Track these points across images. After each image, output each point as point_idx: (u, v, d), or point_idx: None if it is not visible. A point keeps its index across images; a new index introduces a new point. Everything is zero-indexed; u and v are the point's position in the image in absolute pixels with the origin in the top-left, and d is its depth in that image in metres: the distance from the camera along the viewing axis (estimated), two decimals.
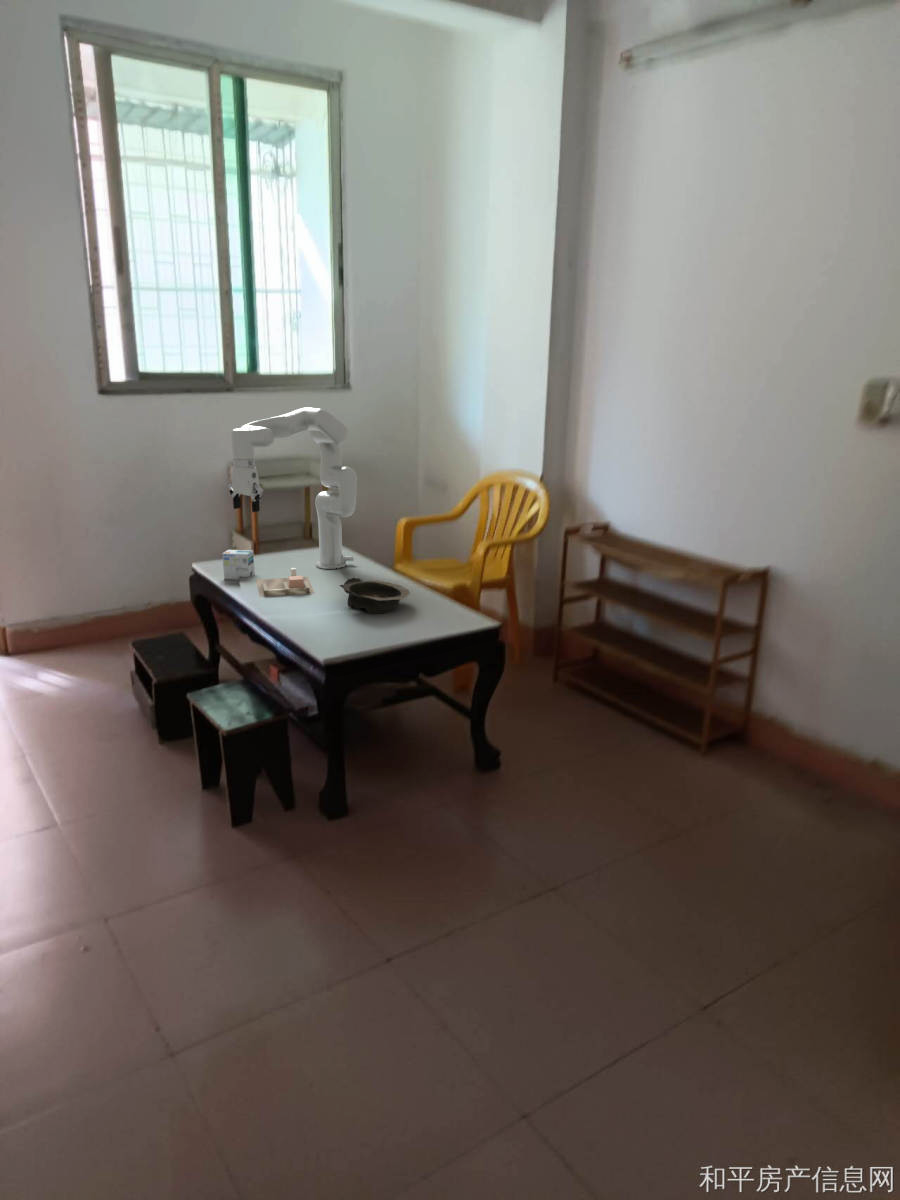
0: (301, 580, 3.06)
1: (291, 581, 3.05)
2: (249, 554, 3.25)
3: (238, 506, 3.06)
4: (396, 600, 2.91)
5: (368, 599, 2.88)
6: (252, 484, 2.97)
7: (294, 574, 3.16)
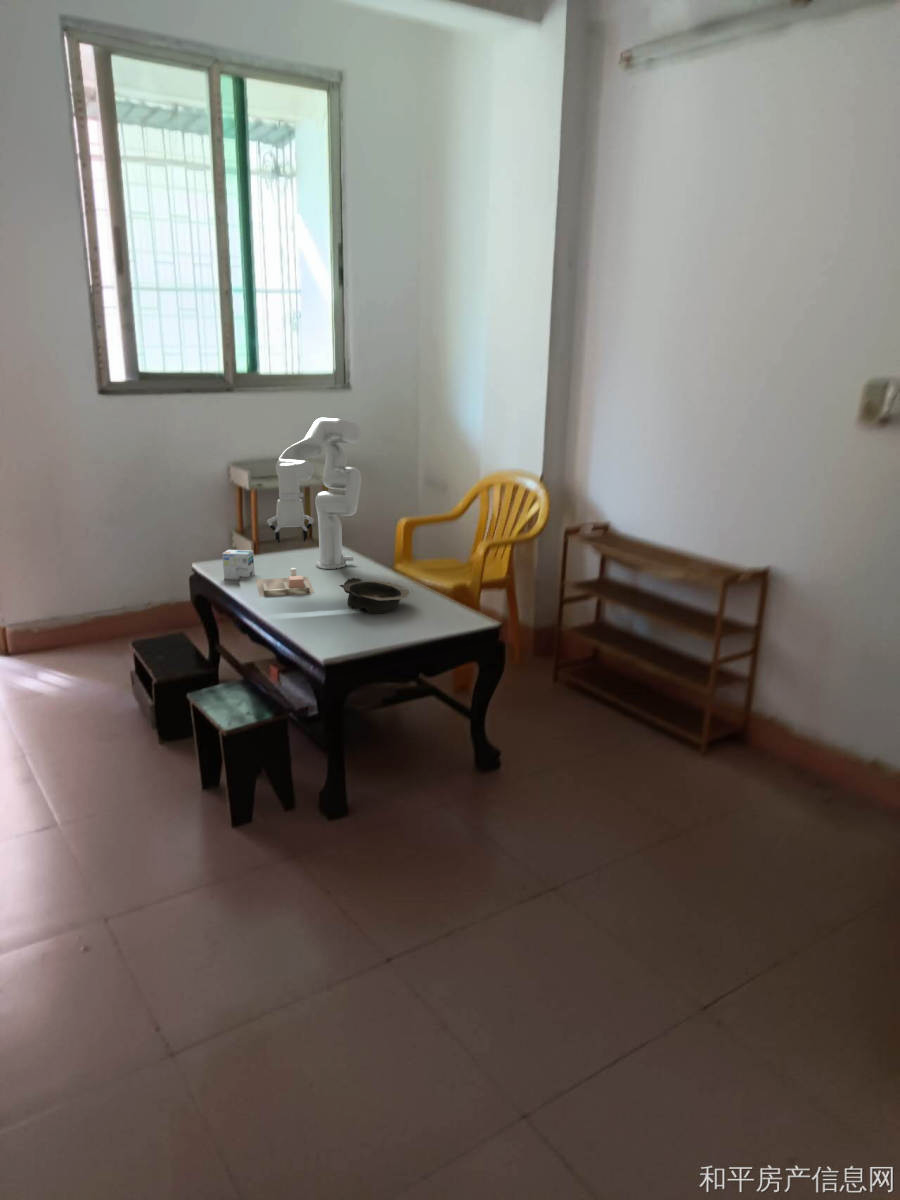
0: (301, 580, 3.06)
1: (291, 581, 3.05)
2: (249, 554, 3.25)
3: None
4: (396, 600, 2.91)
5: (368, 599, 2.88)
6: (303, 515, 3.10)
7: (294, 574, 3.16)
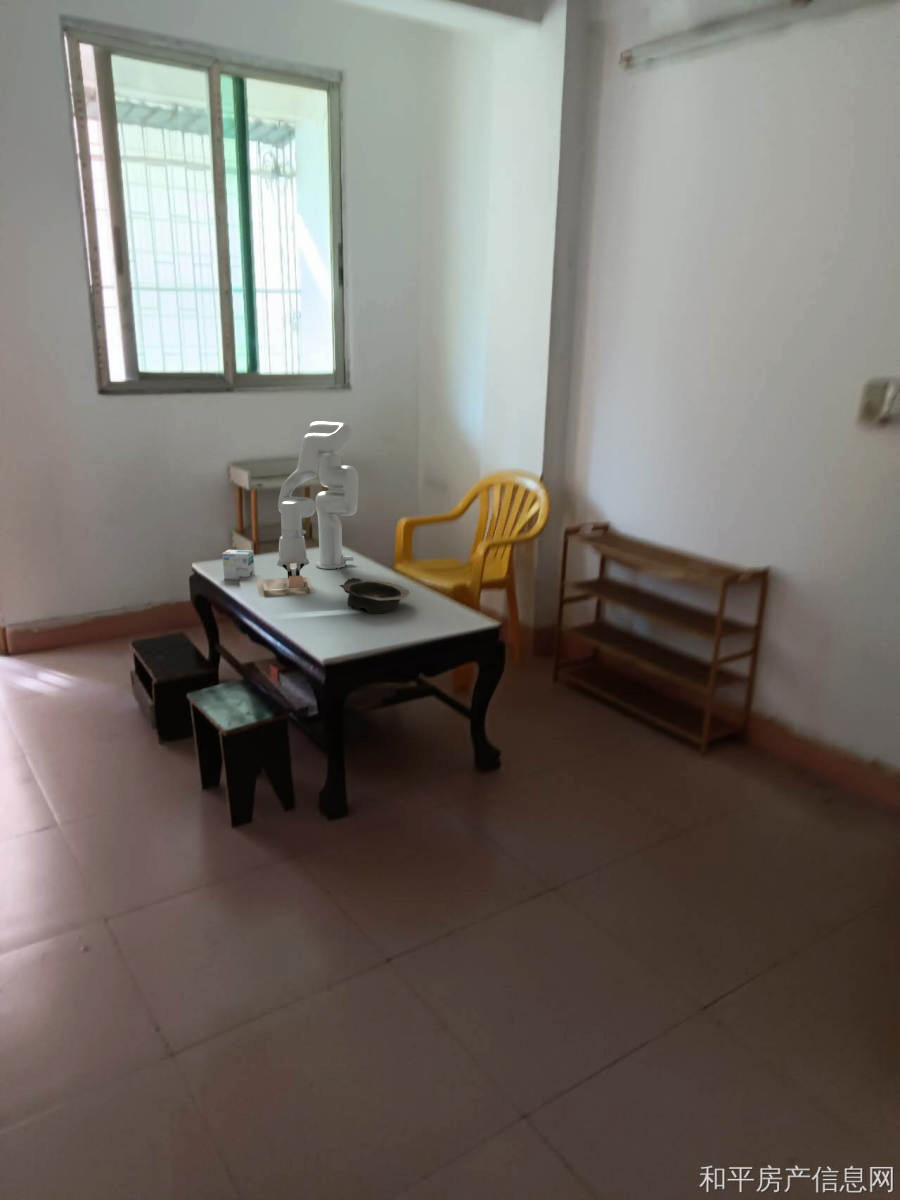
0: (301, 580, 3.06)
1: (291, 581, 3.05)
2: (249, 554, 3.25)
3: None
4: (396, 600, 2.91)
5: (368, 599, 2.88)
6: None
7: (294, 574, 3.16)
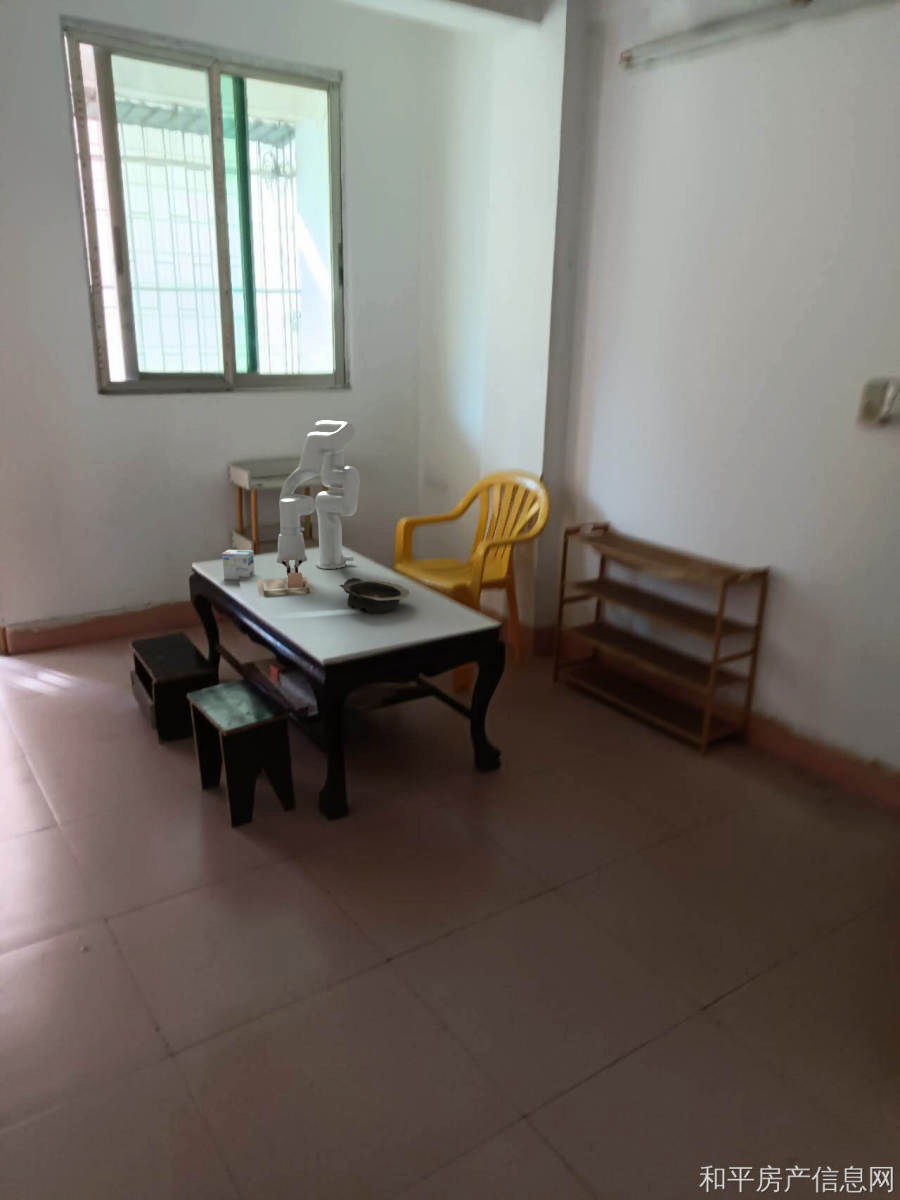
0: (299, 576, 3.10)
1: (290, 576, 3.09)
2: (249, 554, 3.25)
3: None
4: (396, 600, 2.91)
5: (368, 599, 2.88)
6: (304, 548, 3.19)
7: (293, 573, 3.20)
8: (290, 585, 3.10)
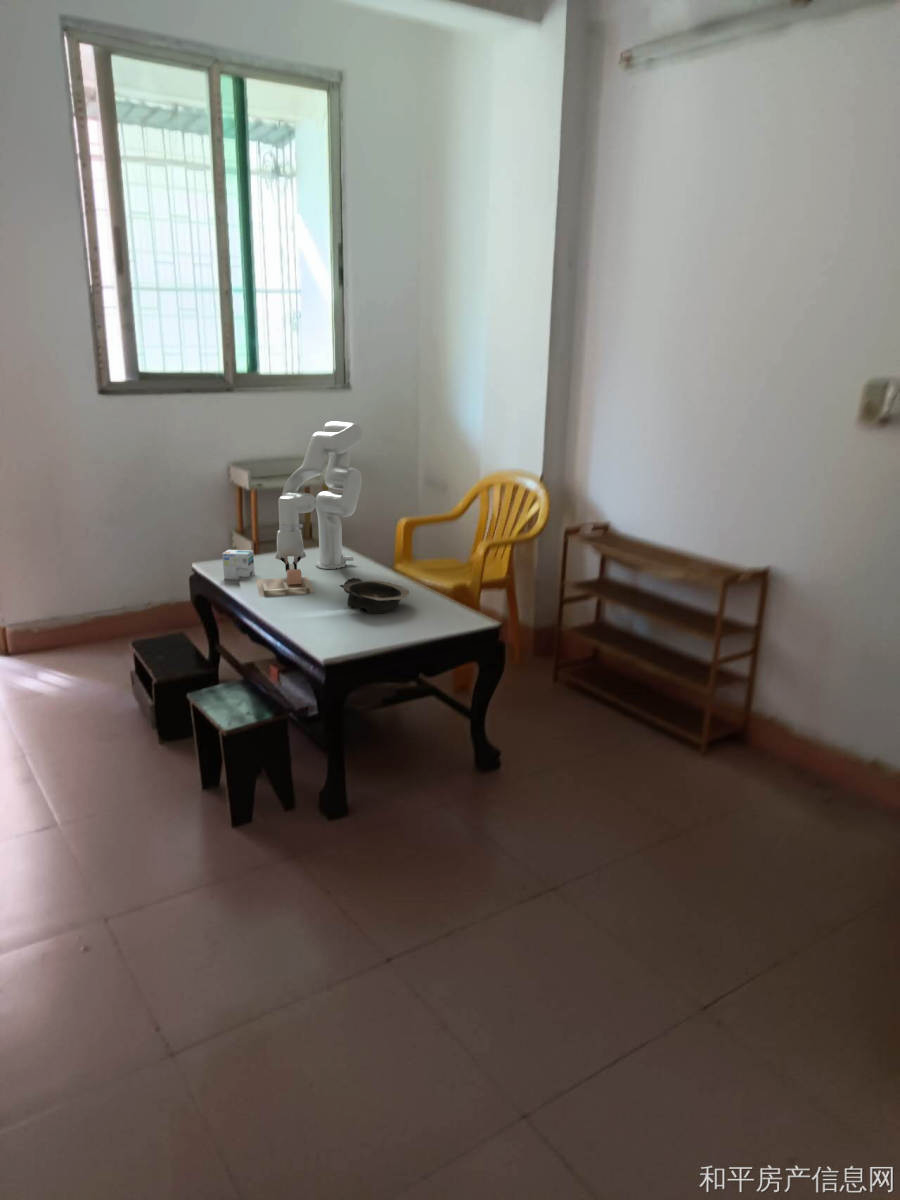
0: (298, 572, 3.14)
1: (289, 573, 3.13)
2: (249, 554, 3.25)
3: None
4: (396, 600, 2.91)
5: (368, 599, 2.88)
6: None
7: (292, 569, 3.24)
8: (289, 581, 3.14)
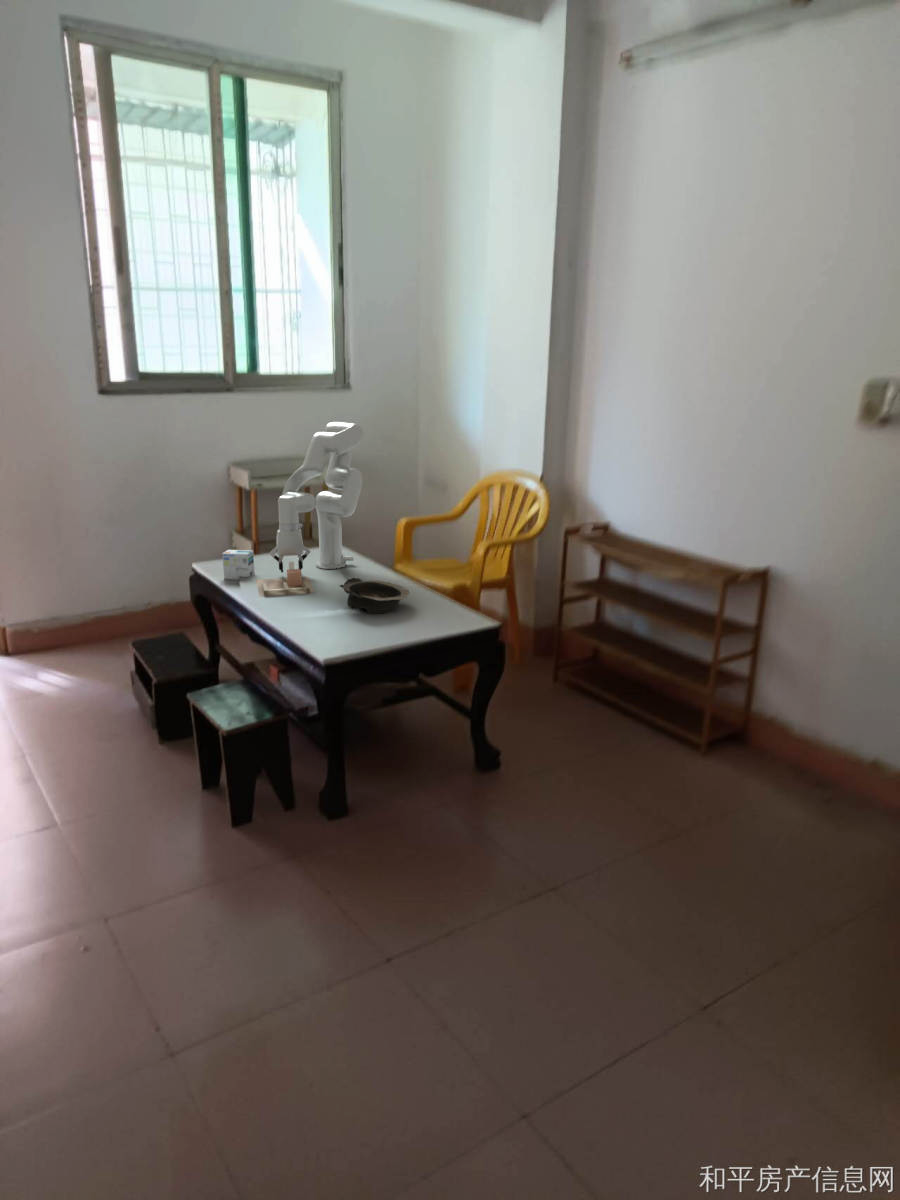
0: (299, 574, 3.15)
1: (289, 574, 3.14)
2: (249, 554, 3.25)
3: None
4: (396, 600, 2.91)
5: (368, 599, 2.88)
6: (302, 544, 3.25)
7: (292, 568, 3.24)
8: (289, 582, 3.15)
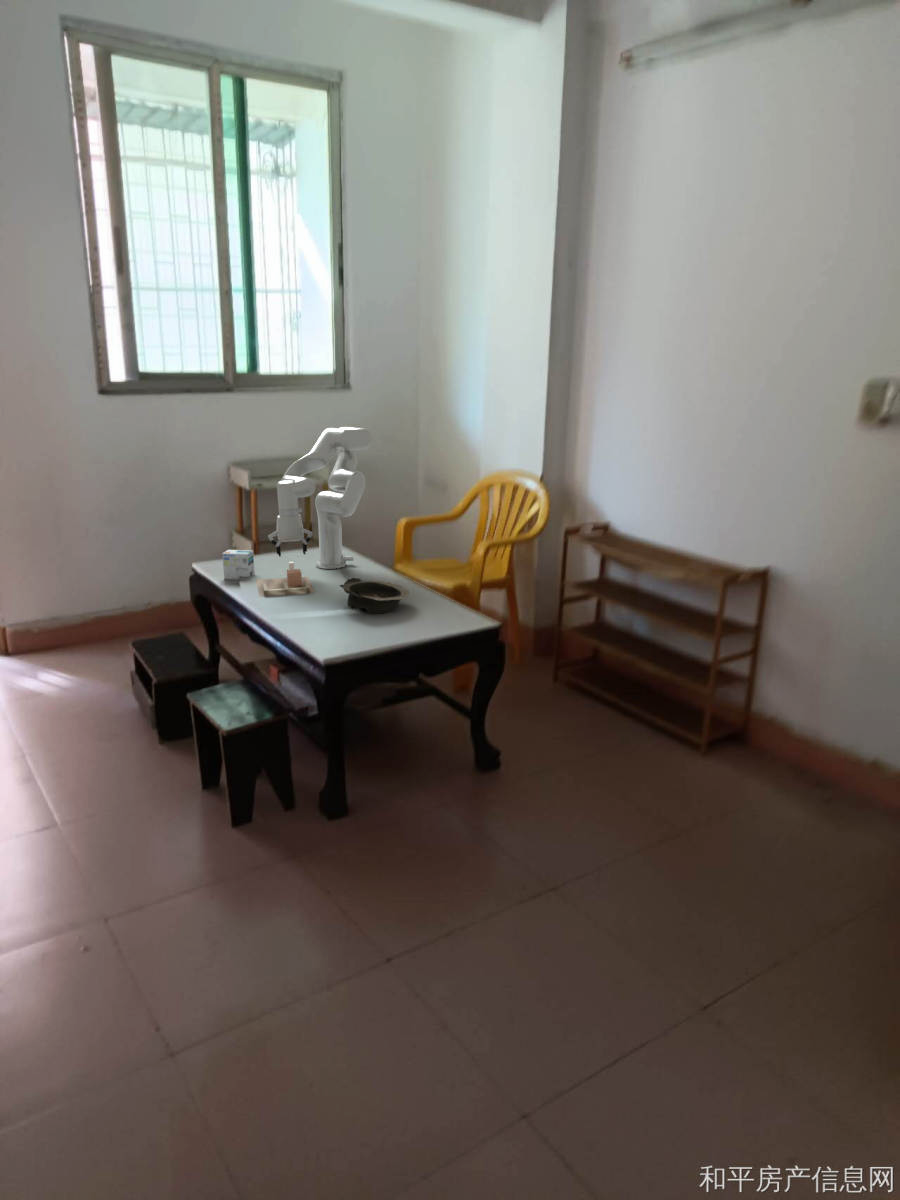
0: (299, 574, 3.15)
1: (289, 574, 3.14)
2: (249, 554, 3.25)
3: None
4: (396, 600, 2.91)
5: (368, 599, 2.88)
6: (303, 529, 3.23)
7: (292, 568, 3.24)
8: (289, 582, 3.15)
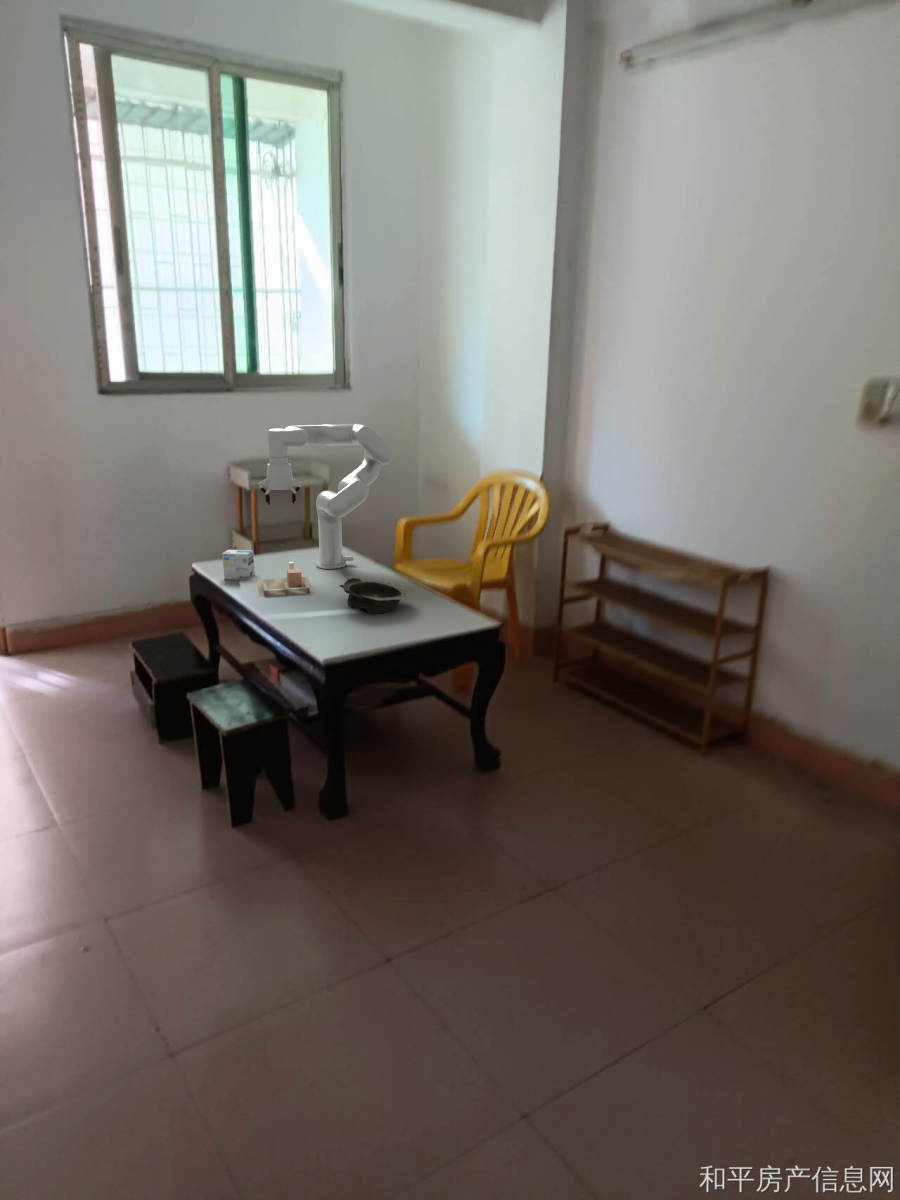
0: (299, 574, 3.15)
1: (289, 574, 3.14)
2: (249, 554, 3.25)
3: None
4: (396, 600, 2.91)
5: (368, 599, 2.88)
6: (292, 478, 3.28)
7: (292, 568, 3.24)
8: (289, 582, 3.15)
